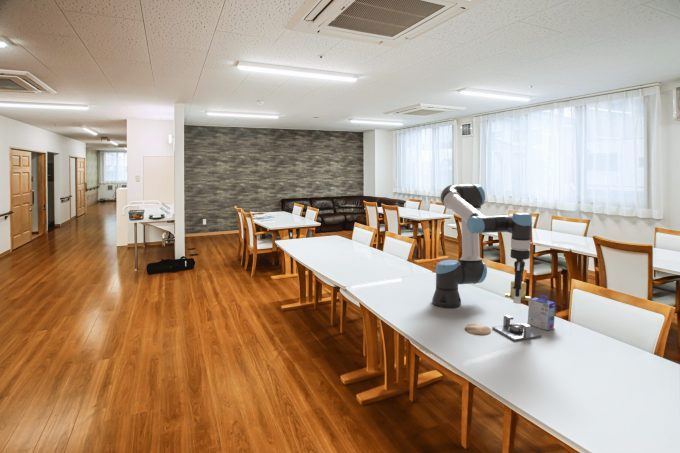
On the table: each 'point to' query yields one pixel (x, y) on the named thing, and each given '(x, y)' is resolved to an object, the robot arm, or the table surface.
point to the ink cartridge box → (541, 313)
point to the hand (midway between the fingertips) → (517, 300)
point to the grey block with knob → (516, 330)
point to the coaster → (477, 329)
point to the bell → (523, 292)
